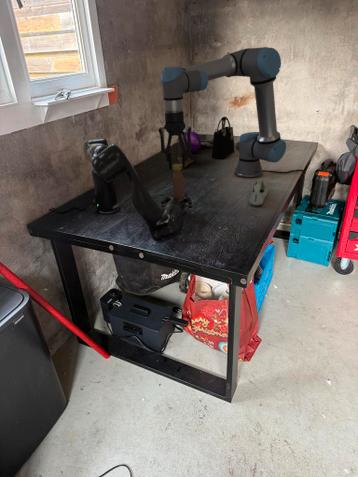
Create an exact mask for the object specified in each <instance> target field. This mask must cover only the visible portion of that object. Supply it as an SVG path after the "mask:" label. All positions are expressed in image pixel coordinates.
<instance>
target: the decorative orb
mask: <svg viewBox="0 0 358 477" xmlns="http://www.w3.org/2000/svg"><path fill="white" fill-rule="evenodd" d="M184 132H185V135H186V140H187V132H186V131H184ZM201 140H202V139H201V137H200V135H199V134H198V133H197V132H195V131H192V130H191V153H192V154H194V153H196V152H197V151H198V150H199V149H201V148H200V145H201ZM187 144H188V141H187Z"/></svg>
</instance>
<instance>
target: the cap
mask: <svg viewBox="0 0 358 477" xmlns="http://www.w3.org/2000/svg"><path fill="white" fill-rule="evenodd" d="M171 170H173V171H174V170H181V171H182V170H183V168H182V164H179V163H174V164H173V163H172V169H171Z"/></svg>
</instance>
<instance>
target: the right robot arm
mask: <svg viewBox="0 0 358 477" xmlns="http://www.w3.org/2000/svg"><path fill="white" fill-rule="evenodd" d="M281 67H282V58H281V55H280V53H279V52H278V50H277V49H275V48H273V47H267V46H264V47H251V48H250V47H248V48H242V49H239V50H236V51H234V52H230V53H227V54H224V55H223V56H222V57H221V58H216V59H213V60H208V61H205V62H201V63H196V64H193V65H188V66H185V67H181V66H179V65H177V66H165V67H163V68H162V70H161V76H160V84H161V86H162V92H163V93H162V94H163V109H164V110H163V111H165V112H164V122H165V123H164V125H163V126H162V127H158V133H159V137H160V152H161V153H162V154H165V161H166V162H167V163H168V167H169V168H168V169H169V171H172V170H173V169H172V165H173V162H172V152H170V150H171V145H172V139H173V137H175V136H176V137H178V136H179V139H180V142H181V145H182V149H183V153H182V163H183V168H182V170H184V171H185V169H186V167H185V161H187V153H188V152H191V131H192V128H193V127H192V126H191V125H189V126H188V125H186V123H185V112H184V111H183V110H184V94H186V93H187V94H188V93H194V92H201V91H205V90H206V89H207V87H208V85H209V81H212V80H216V79H220V78H223V77H225V78H232V77H245V78H246V77H247V78H249V83H250V85H251V86H252V87H253V89H254V99H255V106H256V115H257V124H258V131H251V132H244V133H242V134H240V136H239V141H238V142H239V150H238V162H237V165H236V167H235V169H234V174H235V176H236V177H239V178H243V179H255V178H259V177H261V176H262V175H263V173H273V174H291V173H295V172H301V173H304V174H307V172H306V171H305V170H304V169H292V170H288V171H279V170H277V171H276V170H267V169H266V170H265V169H262V165H261V161H265V162H267V163H278V162H279V161H281V160H282V158H283V157H284V155H285V153H286V150H287V143H286V141H284V140H283V139H282V138H281V132H280V131H278V126H277V125H278V124H277V114H276V102H275V100H276V99H275V89H274V88H275V87H274V82H275V81H276V80H277V76H278V74H279V73H280V71H281ZM184 130H185V132H187V141H188V149H186V145H185V142H184V139H183V135H182V132H184ZM165 131H166V132H167V133H168V138H167V142H166V143H167V144H166V146H165ZM179 139H178V140H179Z"/></svg>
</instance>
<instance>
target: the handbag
mask: <svg viewBox="0 0 358 477" xmlns="http://www.w3.org/2000/svg"><path fill="white" fill-rule="evenodd" d="M226 122H227V125H228V126H226ZM220 124H221V128H220ZM219 128H220V129H219ZM213 135H214V138H213V142H212V146H213V147H212V148H211V158H212V159H221V160H223V159H225V158H227V157H228V156H230V155H232V154H233V153H235V150H236V149H235V136H234V127H233V126H231V122H230V120H229V118H228V117H227V116H222V117H221V118H220V120H219V122H218V124H217V126H216V129H215V130H214V132H213Z"/></svg>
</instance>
